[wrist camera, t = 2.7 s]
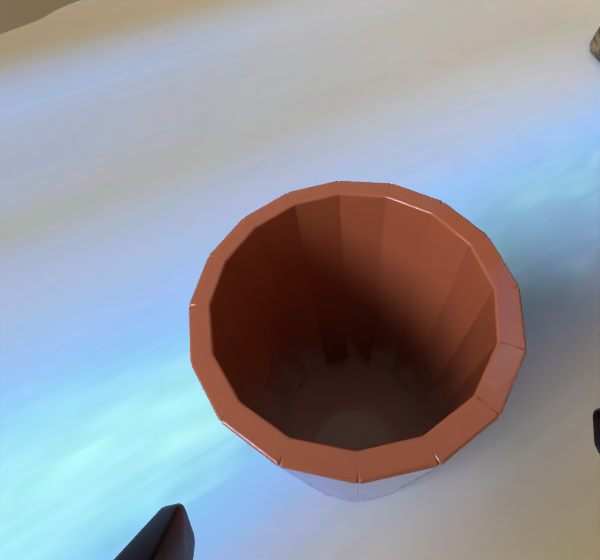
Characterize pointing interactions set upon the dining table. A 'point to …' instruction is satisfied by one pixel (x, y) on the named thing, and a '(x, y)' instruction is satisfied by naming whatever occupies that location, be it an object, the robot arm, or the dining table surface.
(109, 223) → the dining table surface
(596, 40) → the wooden mug
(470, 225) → the pot
